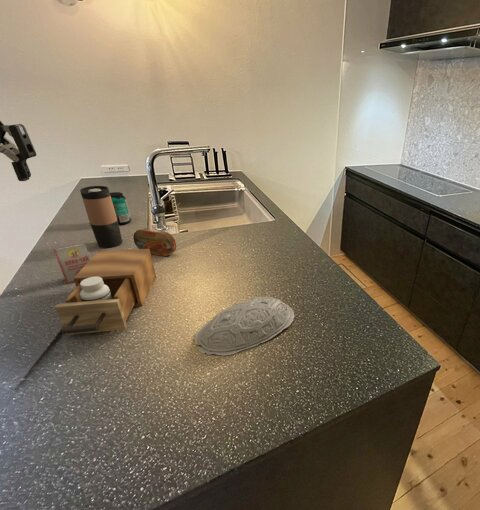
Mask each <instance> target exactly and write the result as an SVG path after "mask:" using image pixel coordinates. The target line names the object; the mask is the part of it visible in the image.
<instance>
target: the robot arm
mask: <svg viewBox="0 0 480 510" xmlns="http://www.w3.org/2000/svg"><path fill="white" fill-rule="evenodd" d="M6 134H8V136H10V137H11V138H12V139H13V141H14V143H13V142H12V141H11V140H9V139H8V138H7V137H6ZM0 154H3V155H4V156H5V157H7V158H8V159H9V160H11V161H12V162H11V166H12V168H13V171H14V173H15V175H16V178H17V181H19V182H27V181H29V180H30V178H31V176H32V173H31V169H30V168H29V164H28V162H27V160H29V159H32V158H35V157H36V156H37V152H36V149H35V147H34V145H33V143H32V140H31V138H30V136H29V133H28V131H27V128H26V127H25V125H23V124H22V123H16V124H15V123H14V124H4V123H3V122H2V121H1V120H0Z"/></svg>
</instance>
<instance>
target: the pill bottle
mask: <svg viewBox="0 0 480 510" xmlns="http://www.w3.org/2000/svg"><path fill="white" fill-rule="evenodd" d="M80 285H81V288H82V291H81V293H80V297H81V299H82V302H85V301H98V300H110V299H112V295H111V292H110V289H109V287H108V286H107V285H105V284H104V282H103V280H102V278H101V277H90V278H87V279H84V280H83V281H81V283H80Z"/></svg>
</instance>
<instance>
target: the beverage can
mask: <svg viewBox="0 0 480 510" xmlns="http://www.w3.org/2000/svg"><path fill="white" fill-rule="evenodd" d="M110 196H111V199H112V203H113V206H114V210H115V213H116V217H117V220H118V225H119V226H125V225H127V224H129V223H130V222H131V221H132V218H131V214H130V209H129V206H128V201H127V199H126V197H125V196H124V194H123V192H121V191H120V192H118V191H112V192H110Z"/></svg>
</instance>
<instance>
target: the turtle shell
mask: <svg viewBox="0 0 480 510" xmlns="http://www.w3.org/2000/svg"><path fill="white" fill-rule="evenodd" d="M294 319H295V312H294V310H293V309H292V308H291V306H289V305H288V304H287V303H284V302H283V301H282V300H280V299H279V298H275V297H268V296H267V297H266V296H256V297H253V298H250V299H247V300H244V301H239V302H237V303H234V304H233V305H231V306H228V307H227V308H224V309H223V310H221V311H219V312H218V313H216V315H214V317H213V318H212V319H209V321H207V322H206V323H205V324H204V325H203V326H201V327H200V328H199V329H198V331H197V332H196V335H195V342H194V344H195V345H197V346H200V347H201V348H199V349H198V352H199V353H201V354H206V355H208V356H210V355H217V356H223V357H224V356H225V357H226V356H231V355H235V354H236V353H240V352H242V351H245V350H247V349H252V348H255V347H257V346H258V345H260V344H264V343H265V342H267V341H269V340H271V339H273V338H274V337H276V336H277V335H279V334H280V333H282V331H283V330H285V329H287V328H289V327H290V326H291V324H292V323H293V321H294Z"/></svg>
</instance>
